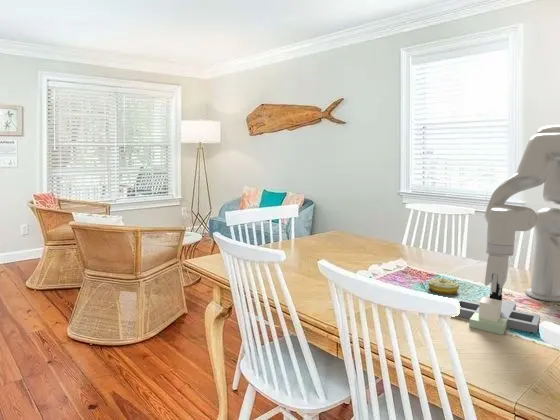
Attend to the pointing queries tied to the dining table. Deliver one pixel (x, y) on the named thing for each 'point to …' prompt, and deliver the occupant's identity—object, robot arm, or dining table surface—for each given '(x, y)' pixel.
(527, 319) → the board
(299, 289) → the dining table surface
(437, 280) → the decorated donut
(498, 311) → the cream block
